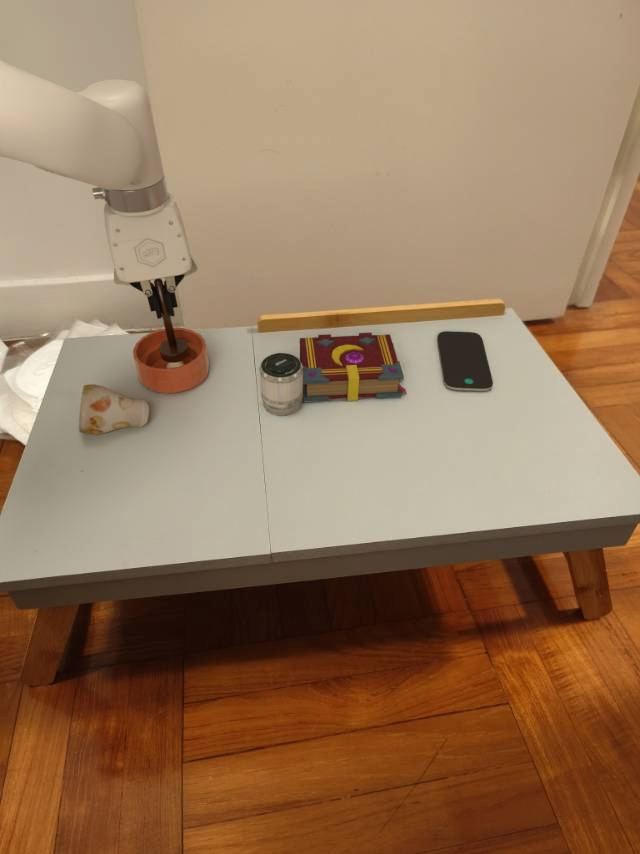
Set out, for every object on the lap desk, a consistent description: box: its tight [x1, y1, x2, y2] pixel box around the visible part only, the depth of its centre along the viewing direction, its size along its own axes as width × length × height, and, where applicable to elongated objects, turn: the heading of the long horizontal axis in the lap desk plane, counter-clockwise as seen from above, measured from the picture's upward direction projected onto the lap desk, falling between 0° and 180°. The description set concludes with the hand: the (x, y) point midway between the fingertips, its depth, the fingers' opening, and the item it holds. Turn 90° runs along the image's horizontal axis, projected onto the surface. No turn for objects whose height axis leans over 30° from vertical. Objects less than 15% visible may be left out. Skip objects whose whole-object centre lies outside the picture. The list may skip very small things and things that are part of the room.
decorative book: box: [299, 332, 408, 403], centre depth 96 cm, size 11×16×5 cm
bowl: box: [132, 327, 210, 394], centre depth 96 cm, size 11×11×5 cm
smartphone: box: [436, 330, 494, 392], centre depth 101 cm, size 8×1×15 cm
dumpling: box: [167, 361, 184, 369], centre depth 96 cm, size 3×3×3 cm
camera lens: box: [258, 352, 303, 416], centre depth 91 cm, size 6×6×8 cm
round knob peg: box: [153, 278, 189, 363], centre depth 92 cm, size 4×4×14 cm
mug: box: [78, 383, 150, 436], centre depth 87 cm, size 8×10×10 cm
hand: (165, 311), depth 91 cm, fingers closed on round knob peg, 1 cm apart
